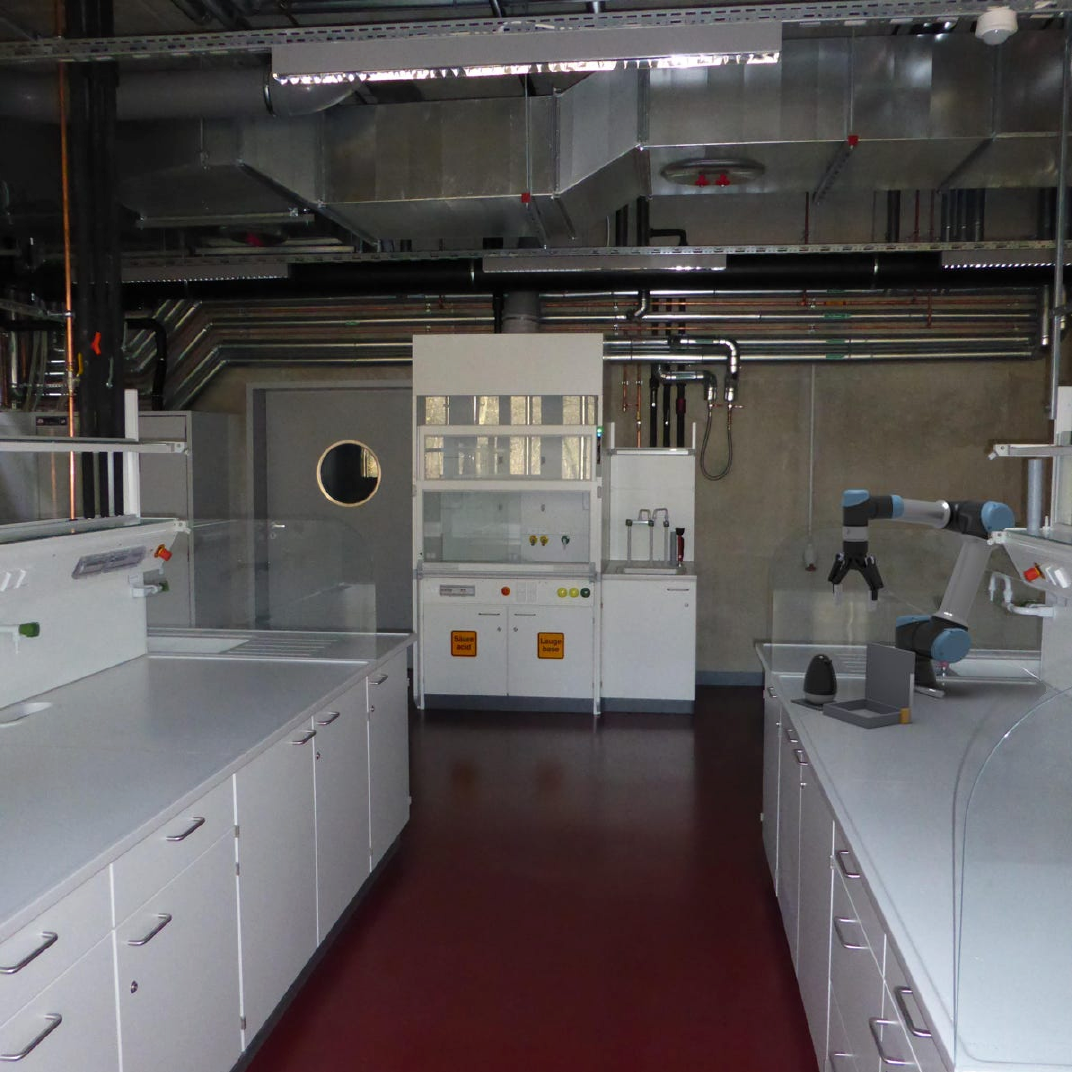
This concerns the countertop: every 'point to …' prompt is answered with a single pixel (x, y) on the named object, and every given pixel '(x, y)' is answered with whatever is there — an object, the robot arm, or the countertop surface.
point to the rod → (929, 691)
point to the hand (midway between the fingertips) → (854, 607)
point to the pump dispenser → (820, 680)
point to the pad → (809, 704)
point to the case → (881, 689)
